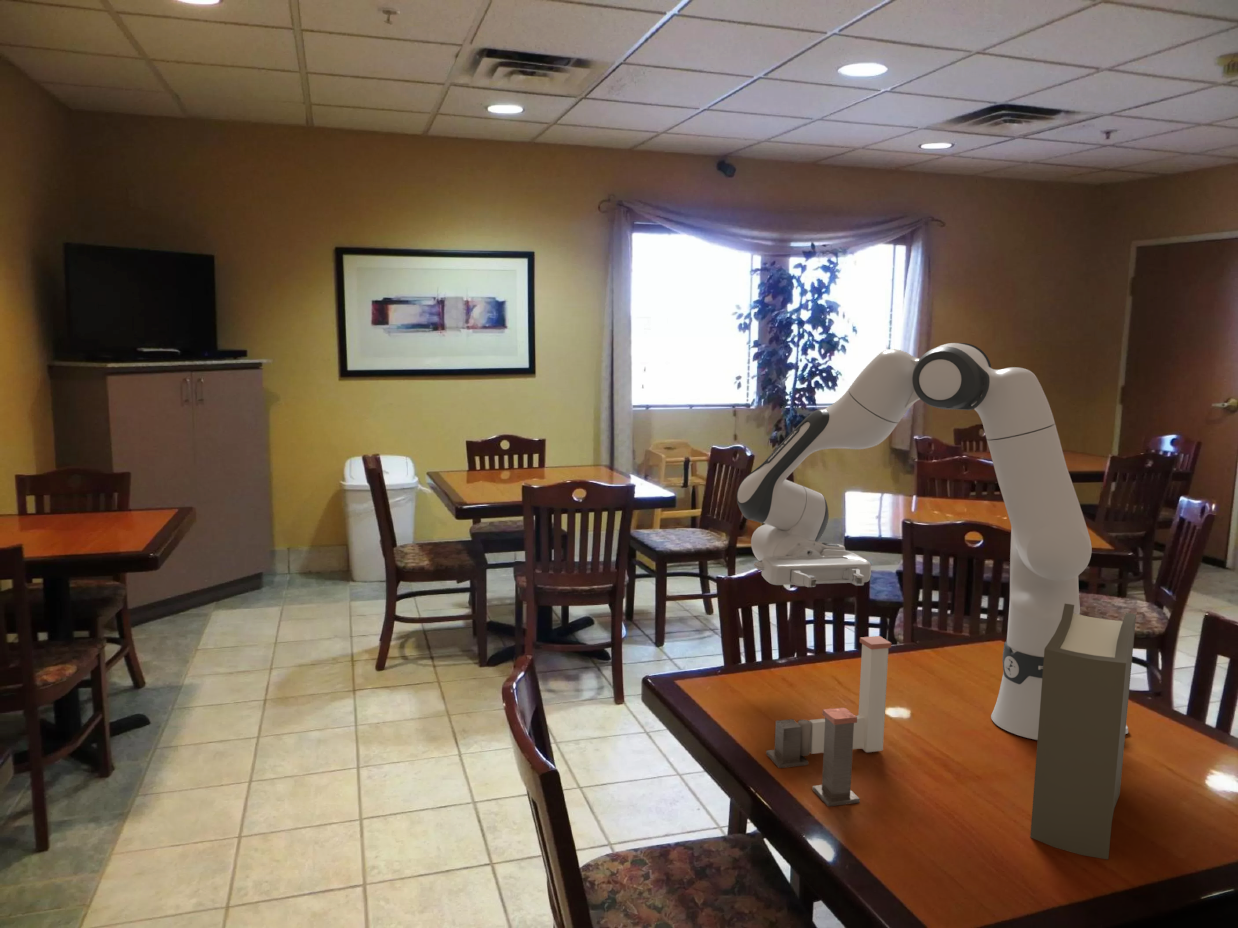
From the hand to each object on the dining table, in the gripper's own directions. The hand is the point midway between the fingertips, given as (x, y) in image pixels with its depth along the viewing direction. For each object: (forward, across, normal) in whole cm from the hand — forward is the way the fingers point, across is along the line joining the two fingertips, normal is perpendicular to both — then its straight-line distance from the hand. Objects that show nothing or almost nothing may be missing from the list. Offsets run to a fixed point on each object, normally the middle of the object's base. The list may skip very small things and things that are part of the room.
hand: (836, 581), depth 155 cm
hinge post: (+14, -14, +25) cm, 32 cm away
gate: (+14, -5, +24) cm, 28 cm away
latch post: (+26, -12, +25) cm, 38 cm away
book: (+40, +18, +24) cm, 50 cm away
